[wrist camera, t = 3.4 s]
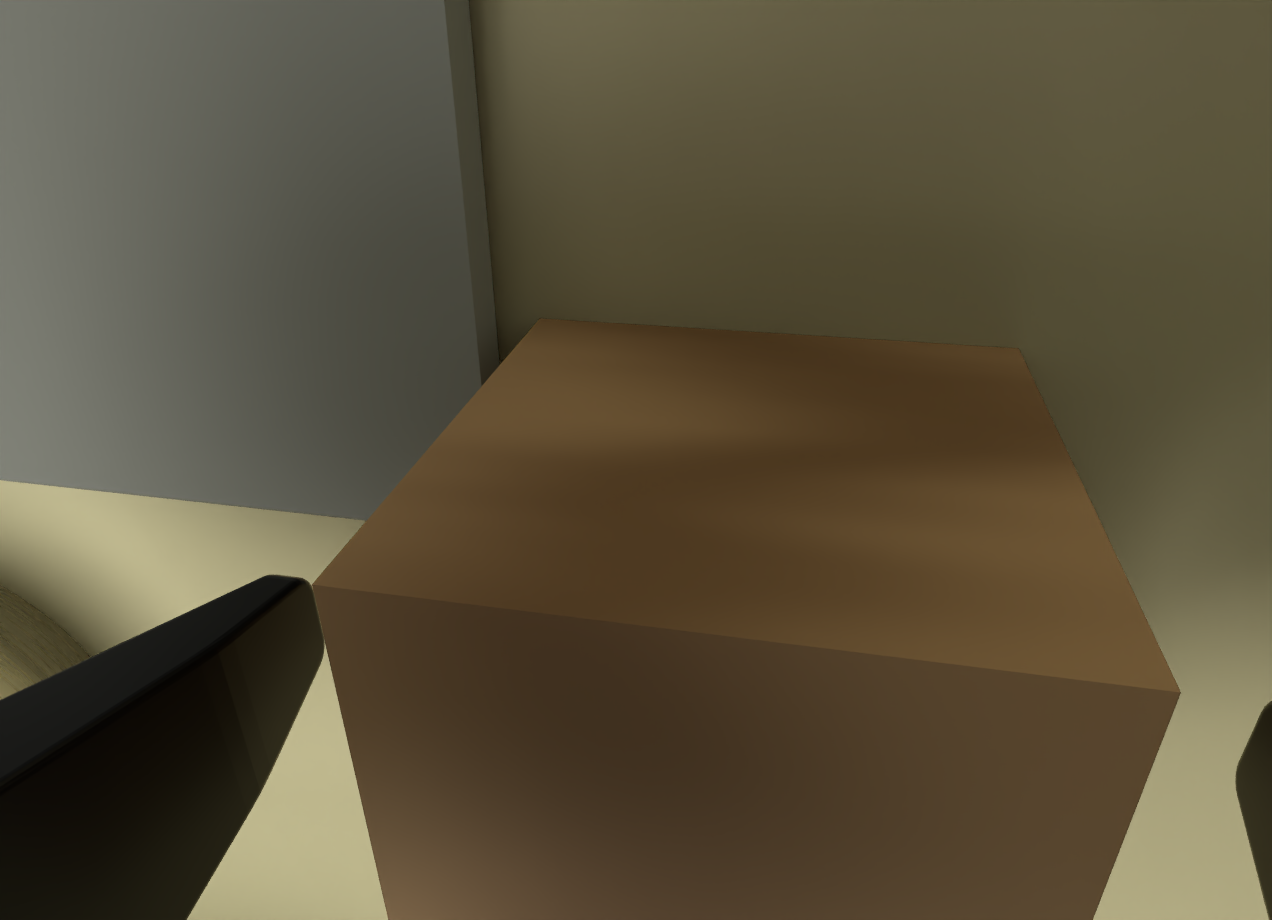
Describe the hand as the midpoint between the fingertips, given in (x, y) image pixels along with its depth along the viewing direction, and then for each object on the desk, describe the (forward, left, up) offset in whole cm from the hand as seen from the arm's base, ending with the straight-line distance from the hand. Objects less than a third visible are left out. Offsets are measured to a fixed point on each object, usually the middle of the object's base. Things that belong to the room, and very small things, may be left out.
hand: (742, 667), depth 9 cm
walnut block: (0, 0, -2) cm, 2 cm away
